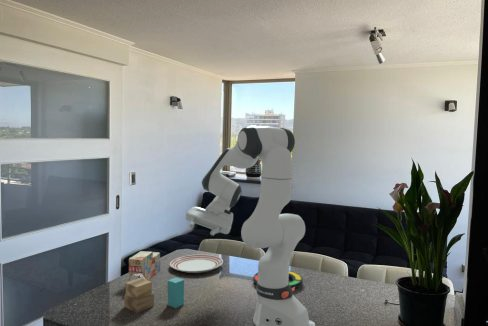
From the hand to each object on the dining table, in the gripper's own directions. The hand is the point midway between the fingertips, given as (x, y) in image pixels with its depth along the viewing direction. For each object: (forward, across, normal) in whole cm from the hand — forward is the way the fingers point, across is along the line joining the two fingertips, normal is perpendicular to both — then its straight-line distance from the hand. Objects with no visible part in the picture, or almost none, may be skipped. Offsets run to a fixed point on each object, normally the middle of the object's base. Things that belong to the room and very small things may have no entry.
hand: (201, 230), depth 155 cm
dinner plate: (-22, -8, +43) cm, 49 cm away
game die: (+13, -20, +33) cm, 41 cm away
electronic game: (-17, +35, +29) cm, 48 cm away
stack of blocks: (-1, -25, +40) cm, 48 cm away
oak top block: (+23, -13, +22) cm, 35 cm away
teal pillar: (+18, 0, +25) cm, 31 cm away
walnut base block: (+25, -12, +26) cm, 38 cm away
